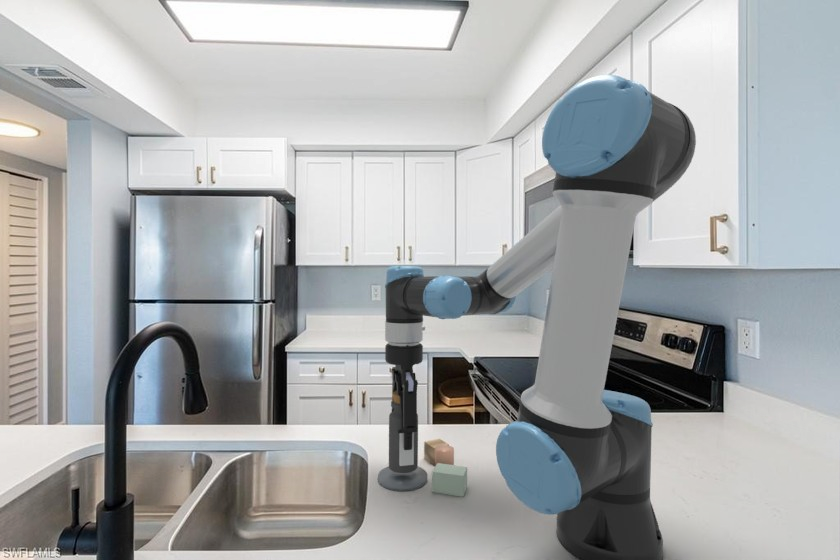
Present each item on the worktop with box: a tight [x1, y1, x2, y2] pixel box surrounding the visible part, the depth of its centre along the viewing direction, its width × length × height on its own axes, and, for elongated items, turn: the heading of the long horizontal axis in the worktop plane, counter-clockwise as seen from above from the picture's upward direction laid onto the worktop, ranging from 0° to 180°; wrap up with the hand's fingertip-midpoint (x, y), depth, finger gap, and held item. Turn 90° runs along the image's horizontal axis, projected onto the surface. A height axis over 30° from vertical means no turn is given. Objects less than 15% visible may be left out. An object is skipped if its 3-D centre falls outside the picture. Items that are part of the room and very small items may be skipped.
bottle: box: [388, 391, 419, 473], centre depth 87 cm, size 6×6×15 cm
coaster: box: [377, 465, 429, 492], centre depth 87 cm, size 10×10×1 cm
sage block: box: [431, 463, 468, 497], centre depth 83 cm, size 4×6×4 cm, turn 73°
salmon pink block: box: [434, 445, 455, 467], centre depth 90 cm, size 4×4×5 cm
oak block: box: [423, 438, 450, 467], centre depth 96 cm, size 4×4×4 cm
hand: (403, 457), depth 87 cm, fingers closed on bottle, 6 cm apart
